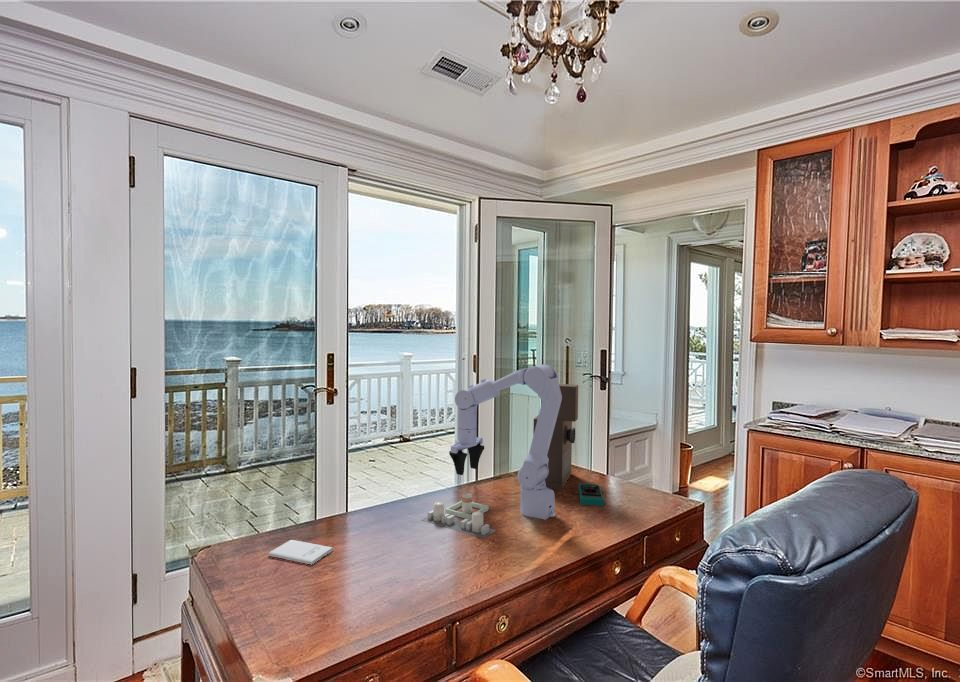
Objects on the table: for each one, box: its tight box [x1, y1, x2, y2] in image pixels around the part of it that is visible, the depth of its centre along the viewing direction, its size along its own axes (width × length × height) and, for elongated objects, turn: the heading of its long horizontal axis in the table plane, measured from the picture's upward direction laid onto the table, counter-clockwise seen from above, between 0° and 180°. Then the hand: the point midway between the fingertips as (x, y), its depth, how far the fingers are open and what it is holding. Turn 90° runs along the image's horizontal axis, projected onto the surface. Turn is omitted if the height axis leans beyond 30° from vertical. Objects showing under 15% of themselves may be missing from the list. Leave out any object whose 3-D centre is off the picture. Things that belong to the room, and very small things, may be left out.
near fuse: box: [471, 511, 484, 533], centre depth 134 cm, size 3×3×4 cm
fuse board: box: [421, 509, 497, 539], centre depth 138 cm, size 21×6×3 cm, turn 57°
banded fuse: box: [461, 492, 473, 514], centre depth 148 cm, size 3×3×6 cm
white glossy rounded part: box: [432, 501, 445, 522], centre depth 142 cm, size 3×3×4 cm
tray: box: [444, 500, 489, 521], centre depth 148 cm, size 9×9×2 cm
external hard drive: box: [268, 539, 334, 566], centre depth 123 cm, size 2×8×12 cm
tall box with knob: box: [532, 383, 579, 490], centre depth 181 cm, size 19×14×35 cm
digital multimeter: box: [577, 483, 605, 507], centre depth 164 cm, size 7×15×3 cm, turn 171°
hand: (467, 471), depth 158 cm, fingers open, 7 cm apart
